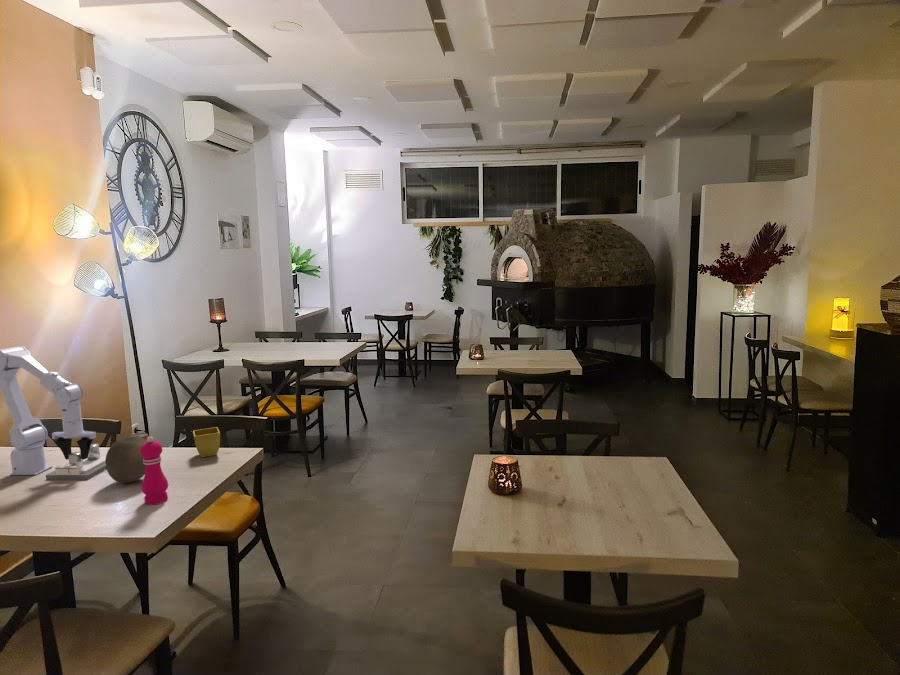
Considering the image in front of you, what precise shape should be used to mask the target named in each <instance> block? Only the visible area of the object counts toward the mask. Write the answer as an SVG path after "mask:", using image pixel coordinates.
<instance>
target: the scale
mask: <svg viewBox="0 0 900 675" xmlns="http://www.w3.org/2000/svg"><path fill="white" fill-rule="evenodd" d="M105 460H106V456H100V459H97V460H93V461H88V460H87V458H86V459H84V460H83V466H84V467H82V468H81V466H69V463H67V464H65V465H57V466H55V467H54V470H53V471H51V472H50V473H49V472H48V473H47V474H45V479H46V480H90V479H92V478H93V477H95V475H96V476H97V475H99V474H101V473H103V472H105V471H107V468H106V461H105ZM102 471H103V472H102ZM100 472H101V473H100Z"/></svg>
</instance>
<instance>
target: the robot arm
mask: <svg viewBox="0 0 900 675" xmlns="http://www.w3.org/2000/svg"><path fill="white" fill-rule="evenodd" d="M21 369H23V370H25V371H26V372H28V373H30V374H31V375H32V376H34V377H36V378H38V380H39V383H40V385H41V386H42V387H44V388H45V389H46V390H47V391H48V392H50V393H52V394H53V395H54V399H55V401H56V403H57V405H58V408H59V409H60V413H61V423H62V430H63V431H55V432H52V433H51V437H52V438H51V439H52V440H55V445H56V446H57V447H58V448H59V449H60V451H61V452H62V454H63V457H64V459H65V460H67V461H68V460H69V458H68V454H70V453H73V452H72V439H79V440H77V441H76V443H77V445H78V448H79V452H81V457H82V460H84V459H86V458H88V454H89V449H90V446H91V444H93V441H94V439H96V438H97V432H96V431H89V430H84V425H83V417H82V408H81V399H82V398H83V396H84V390H83V388H82V387H81V386H80V385H79V384H78V383H72V382H69V381H68V380H66V379H65V378H63V377H62V376H61V375H60V373H58V371H56V372H55V371H48V369H46V368H45V367H44V366H42V365H41V363H39V361H37V360H36V359H35V358H33V356H32V354H31V351H30V350H28V349H27V348H26V347H25V346H23V345H16V346H12V347H6V348H2V349H1V348H0V392H1V395H2V397H3V398H2V399H3V400H4V402H5V405H6V407H7V410H8V412H9V414H10V417H11V419H12V422H13V424H12V425H11V427H10V429H9V430H8V433H9V435H10V443H11V445H12V446H13V447H14V448H13V449H12V450H11V452H10V463H11V464H10V465H11V471H12V472H11V473H10V475H11V476H15V475H16V476H17V475H18V476H20V475H21V476H30V475H31V476H36V475H39V474H41V473H42V472H44V471H47V470H49V469H52V467H53V465H47V464H46V456H45V448H44V444H46V443H45V442H46V440H47V438H48V436H49V435H48V434H49V433H48V430H47V428H46V427H45V426H44V425H43V423H42V421H41V420H40V419H38V418H35V417H34V416H32V414H31V413H32V412H31V410H30V408H29V406H28V403H27V401H26V400H27V399H25V395H24V394H23V390H22V388H21V386H20V384H19V380H18V379H17V377H16V375H17V373H18V371H19V370H21ZM56 439H57V440H56Z"/></svg>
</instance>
